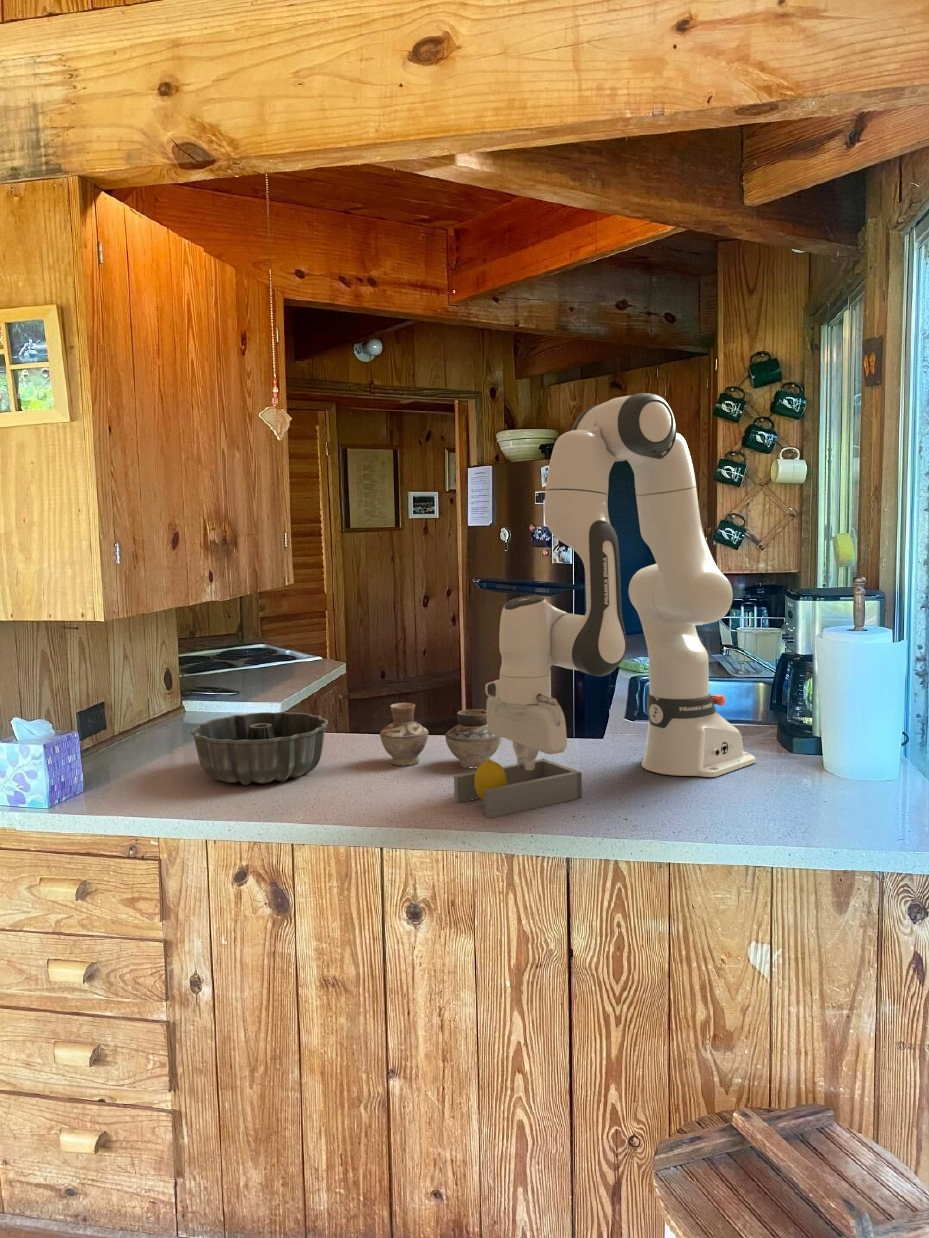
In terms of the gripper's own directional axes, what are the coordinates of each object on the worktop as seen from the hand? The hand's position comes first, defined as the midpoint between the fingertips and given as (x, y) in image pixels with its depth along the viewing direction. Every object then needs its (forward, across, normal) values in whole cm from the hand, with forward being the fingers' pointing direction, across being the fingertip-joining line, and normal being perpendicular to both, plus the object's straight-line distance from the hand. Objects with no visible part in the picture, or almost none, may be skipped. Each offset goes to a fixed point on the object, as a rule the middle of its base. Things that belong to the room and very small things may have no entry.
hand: (525, 768), depth 160 cm
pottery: (+6, +29, +2) cm, 29 cm away
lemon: (+6, 0, +7) cm, 9 cm away
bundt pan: (+6, +43, +34) cm, 55 cm away
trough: (+5, 0, +2) cm, 5 cm away
